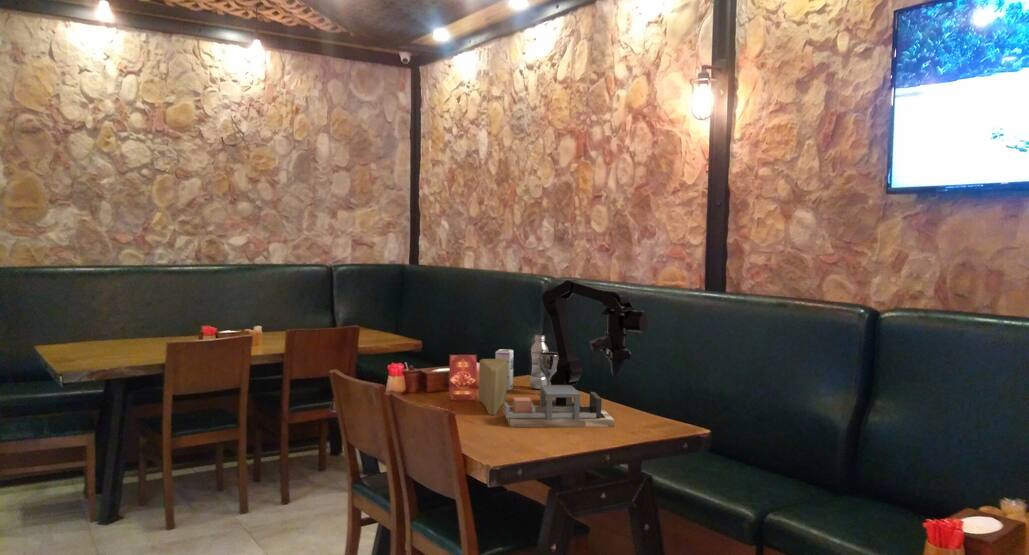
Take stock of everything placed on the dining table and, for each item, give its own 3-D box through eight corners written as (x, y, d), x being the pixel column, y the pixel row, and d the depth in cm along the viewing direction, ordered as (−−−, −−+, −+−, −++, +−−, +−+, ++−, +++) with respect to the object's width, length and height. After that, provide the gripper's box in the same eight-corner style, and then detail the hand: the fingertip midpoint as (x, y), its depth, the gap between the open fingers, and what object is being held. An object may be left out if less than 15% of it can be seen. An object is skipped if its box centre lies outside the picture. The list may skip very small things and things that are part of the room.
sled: (502, 410, 250) (503, 391, 250) (593, 410, 253) (594, 391, 253) (506, 418, 240) (506, 398, 240) (600, 418, 244) (601, 398, 243)
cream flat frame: (505, 416, 252) (505, 409, 252) (604, 415, 256) (604, 409, 256) (510, 427, 238) (510, 420, 238) (614, 426, 242) (614, 420, 242)
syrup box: (510, 390, 292) (511, 351, 291) (494, 389, 293) (495, 350, 292) (513, 387, 298) (514, 349, 297) (497, 386, 299) (498, 348, 298)
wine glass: (559, 397, 283) (560, 355, 282) (537, 396, 283) (538, 354, 282) (558, 392, 291) (559, 351, 290) (536, 391, 291) (538, 351, 290)
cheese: (507, 416, 253) (508, 369, 252) (477, 415, 252) (478, 368, 252) (506, 401, 275) (507, 358, 274) (478, 400, 275) (479, 357, 274)
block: (513, 413, 248) (513, 397, 248) (529, 413, 248) (529, 397, 248) (515, 416, 243) (515, 400, 243) (531, 416, 244) (531, 400, 243)
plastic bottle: (537, 386, 302) (539, 334, 300) (550, 389, 297) (552, 336, 296) (525, 388, 297) (527, 335, 296) (539, 391, 292) (540, 337, 291)
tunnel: (539, 409, 253) (540, 384, 253) (570, 409, 255) (571, 385, 254) (546, 420, 240) (547, 394, 239) (579, 420, 241) (580, 394, 240)
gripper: (585, 325, 267) (584, 371, 268) (598, 332, 249) (596, 382, 249) (618, 325, 268) (616, 371, 269) (632, 333, 250) (631, 382, 251)
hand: (614, 376), depth 260 cm, fingers closed
